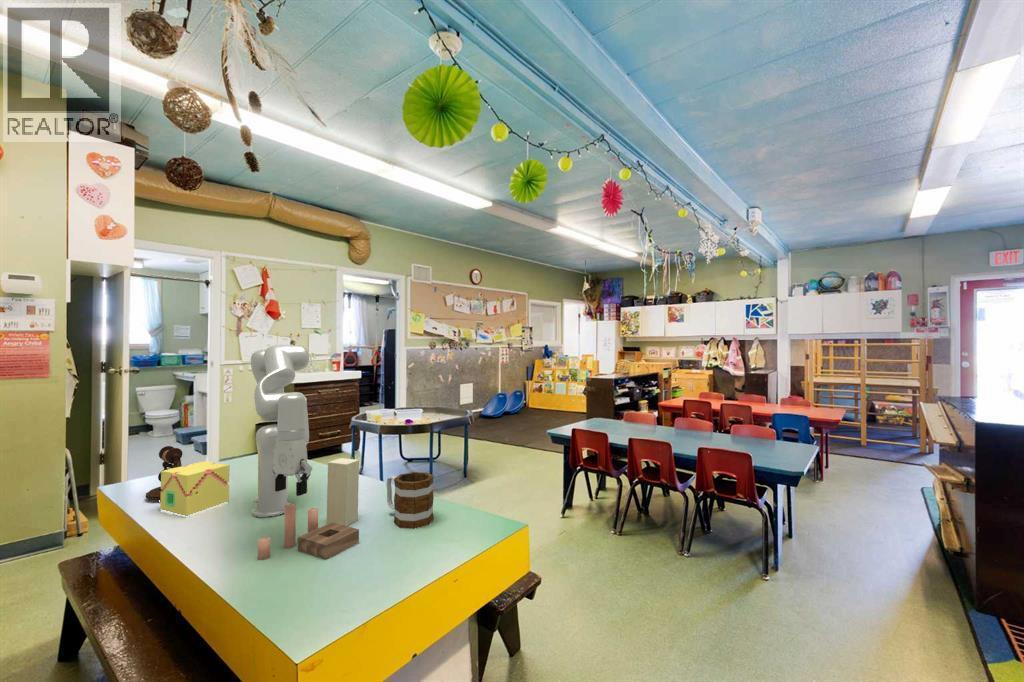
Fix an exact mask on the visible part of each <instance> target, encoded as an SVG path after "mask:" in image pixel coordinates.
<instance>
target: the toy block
mask: <svg viewBox="0 0 1024 682" xmlns="http://www.w3.org/2000/svg"><path fill="white" fill-rule="evenodd" d="M167 469H168V468H167ZM160 472H161V482H160V487H161V489H162V491H161V500H160V503H159V504H160V506H159V507H160V508H159V509H162V510H166V511H170V512H173V513H177V514H181V515H185V516H188V515H190V514H193V513H196V512H199V511H202V510H205V509H207V508H210V507H213V506H216V505H219V504H221V503H224V502H228V501H229V502H230V464H226V463H216V462H212V461H206V460H202V461H199V462H195V463H191V464H187V465H183V466H182V467H177V468H169V469H168V470H164V469H163V471H162V470H161V471H160ZM228 483H229V484H228Z"/></svg>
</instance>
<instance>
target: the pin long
mask: <svg viewBox="0 0 1024 682" xmlns="http://www.w3.org/2000/svg"><path fill="white" fill-rule="evenodd" d="M296 512H297V504H296V503H290V504H288V505H286V506H285V513H284V524H283V525H284V533H283V534H284V535H283V536H284V537H283V539H284V540H283V541H284V542H283V548H285V549H290V548H293V546H294V547H295V546H296V532H297V531H296V529H297V528H296V527H297V525H296V524H297V522H296V521H297V520H296V519H297V518H296V517H297V513H296Z"/></svg>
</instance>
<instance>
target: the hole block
mask: <svg viewBox="0 0 1024 682" xmlns="http://www.w3.org/2000/svg"><path fill="white" fill-rule="evenodd" d="M359 542H360V528H354V527H351V526H349V525H348V526H344V525H340V524H337V523H333V522H331V523H329V524H327V523H326V524H324V525H322V526H320V527H318V528H317V529H315V530H313V531H310V532H308V531H307V532H306V533H303V534H301V535H300V536H299V535H298V536H297V551H298V552H302V553H304V554H308V555H310V556H314V557H316V558H320V559H322V560H326V561H327V560H328V559H330V558H331V557H334V556H336V555H339V554H340V553H342V552H343V551H345V550H347V549H349V548H352V547H353V546H355V545H357V544H358V543H359Z"/></svg>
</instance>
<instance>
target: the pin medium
mask: <svg viewBox="0 0 1024 682" xmlns="http://www.w3.org/2000/svg"><path fill="white" fill-rule="evenodd" d="M317 528H319V508H311V509H308V510H307V533H308V532H310V531H313V530H315V529H317Z"/></svg>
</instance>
